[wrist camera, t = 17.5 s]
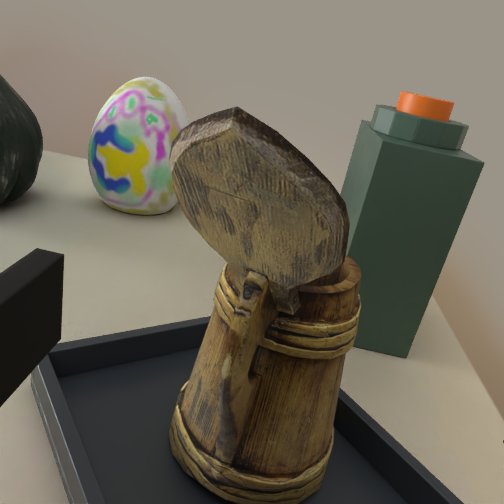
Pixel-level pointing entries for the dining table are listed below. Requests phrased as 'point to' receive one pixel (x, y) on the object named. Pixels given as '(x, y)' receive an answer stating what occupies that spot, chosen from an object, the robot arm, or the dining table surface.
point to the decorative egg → (136, 147)
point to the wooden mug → (263, 312)
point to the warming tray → (159, 420)
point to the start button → (424, 106)
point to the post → (403, 218)
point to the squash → (17, 144)
